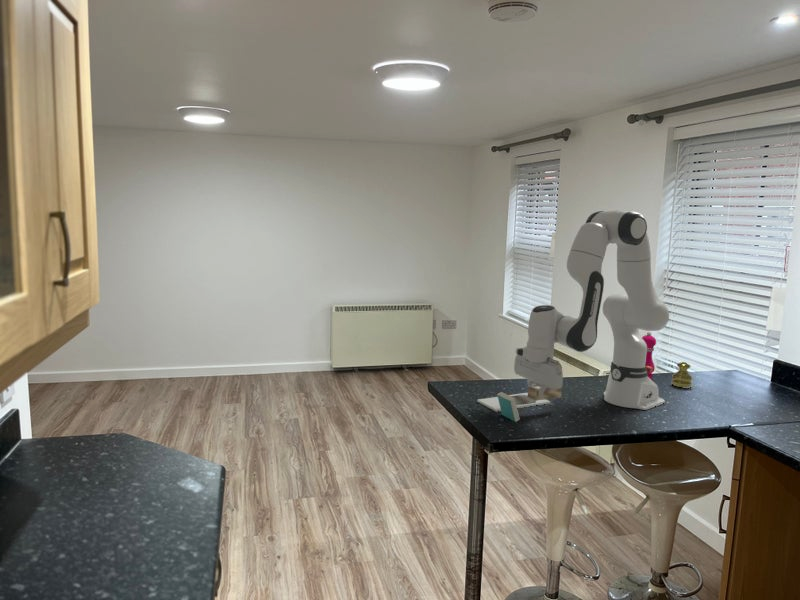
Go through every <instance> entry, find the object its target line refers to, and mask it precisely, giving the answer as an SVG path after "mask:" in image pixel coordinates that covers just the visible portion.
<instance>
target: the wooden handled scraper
mask: <svg viewBox="0 0 800 600" xmlns="http://www.w3.org/2000/svg"><path fill="white" fill-rule="evenodd" d="M539 389H540V387H539V386H537V385H536V386H534V387H529V386H528V388H527V393H528V396H526V395H516V396H511V397H513V398H515V401H516V405H524V404H531V403H536V401H537V400H545V399H546V400H551V399H557V398H558V399H559V398H562V394H563V385H562V387H561V388H560V389H555V390H553V389H550V388H548V387H547V388H546V390H545V391H544V395H543V397H539V396H537V395H536V394H537V391H539Z"/></svg>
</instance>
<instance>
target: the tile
mask: <svg viewBox="0 0 800 600" xmlns="http://www.w3.org/2000/svg"><path fill="white" fill-rule="evenodd" d="M496 395H497V396H496V397H498V400H499V404H500V408H501V411H500V412H501V415H502V416H503V417H505V418H507V419H509V420H511V421H512V422H515V423H517V422H518V421H520V420H521V418H520V415H519V410H518V409H519V408H518V409H517V405H516V401H515V398H513V397H511V396H509V395H510V394H509V395H508V394H507V393H505V392H503V391H500V392H498V393H497V394H496Z"/></svg>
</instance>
